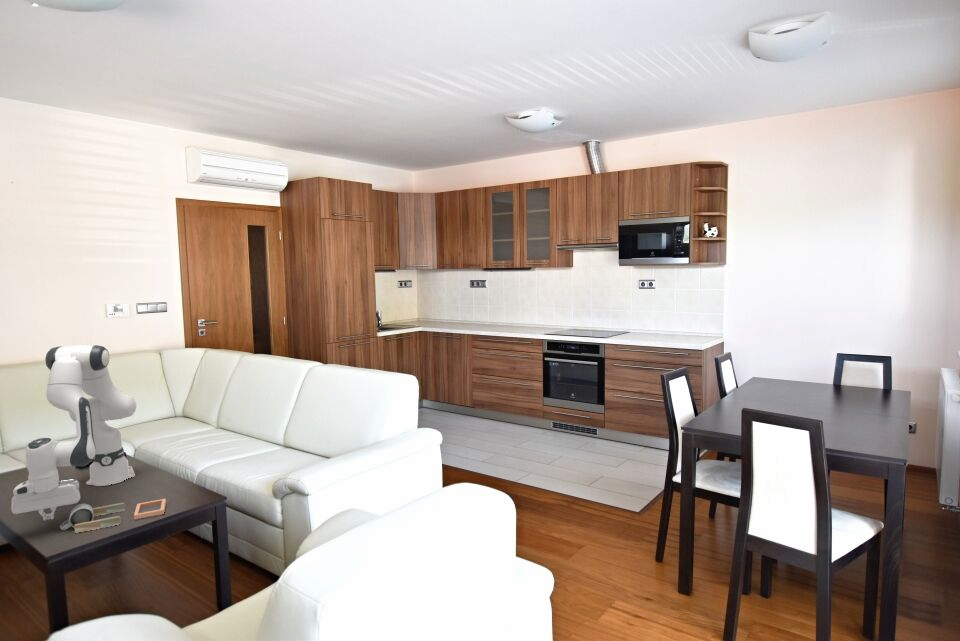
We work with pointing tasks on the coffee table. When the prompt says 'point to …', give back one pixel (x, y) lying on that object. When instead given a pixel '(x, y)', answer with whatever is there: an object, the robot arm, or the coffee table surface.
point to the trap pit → (150, 509)
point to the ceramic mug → (78, 516)
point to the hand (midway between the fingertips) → (48, 519)
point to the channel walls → (102, 522)
